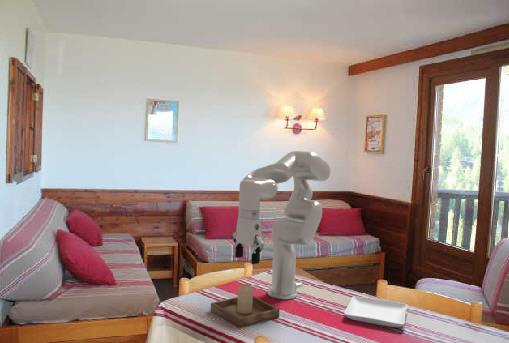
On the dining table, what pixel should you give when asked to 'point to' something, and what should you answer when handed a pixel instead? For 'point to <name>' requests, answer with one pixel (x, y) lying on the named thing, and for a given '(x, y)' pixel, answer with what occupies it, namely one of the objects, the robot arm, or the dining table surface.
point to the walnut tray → (258, 314)
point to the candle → (245, 299)
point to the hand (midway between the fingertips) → (247, 260)
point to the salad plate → (376, 311)
